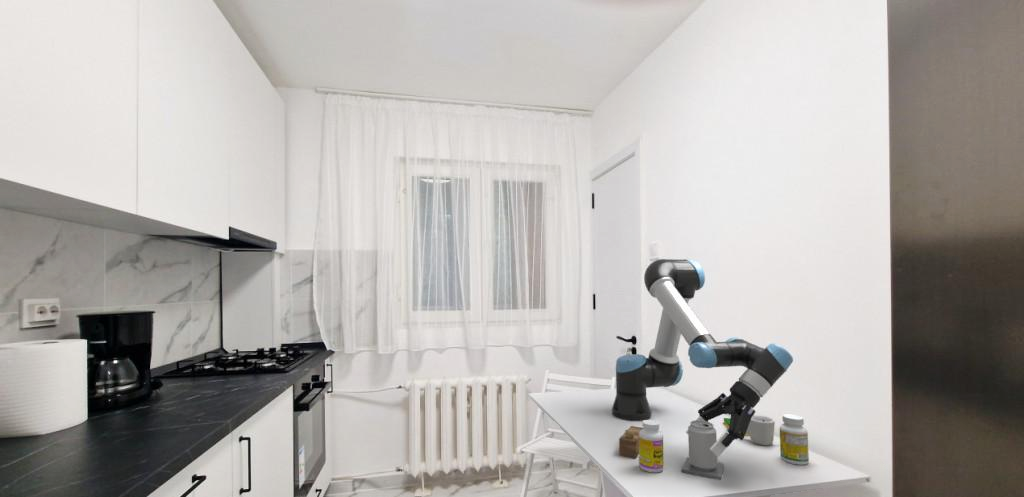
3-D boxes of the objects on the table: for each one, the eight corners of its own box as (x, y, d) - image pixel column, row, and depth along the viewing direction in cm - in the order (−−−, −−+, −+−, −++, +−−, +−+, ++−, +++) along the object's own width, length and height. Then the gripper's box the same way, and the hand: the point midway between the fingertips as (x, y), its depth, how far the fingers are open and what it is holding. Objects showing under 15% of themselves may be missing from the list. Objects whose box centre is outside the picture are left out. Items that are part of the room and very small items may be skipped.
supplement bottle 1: (654, 475, 121) (653, 427, 122) (634, 467, 126) (633, 421, 127) (668, 469, 125) (667, 423, 126) (649, 461, 130) (648, 417, 131)
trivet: (687, 459, 132) (687, 457, 132) (724, 466, 127) (723, 463, 127) (681, 472, 123) (681, 469, 123) (721, 480, 118) (721, 477, 118)
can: (720, 473, 121) (719, 428, 122) (691, 470, 122) (690, 426, 123) (714, 462, 128) (712, 420, 129) (686, 460, 130) (685, 418, 131)
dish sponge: (733, 436, 154) (733, 429, 154) (723, 424, 167) (723, 417, 167) (755, 438, 152) (755, 431, 152) (744, 425, 166) (743, 419, 166)
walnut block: (631, 441, 147) (631, 419, 148) (646, 444, 145) (646, 422, 145) (619, 455, 135) (619, 431, 135) (635, 458, 132) (635, 434, 133)
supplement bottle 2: (807, 467, 127) (805, 421, 128) (778, 461, 131) (776, 416, 132) (810, 460, 132) (808, 416, 133) (783, 454, 137) (781, 411, 138)
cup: (735, 441, 148) (735, 416, 149) (743, 435, 154) (742, 411, 154) (772, 449, 141) (771, 423, 141) (778, 442, 146) (777, 418, 147)
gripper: (788, 410, 115) (736, 472, 113) (733, 388, 140) (689, 437, 138) (768, 390, 115) (715, 451, 113) (716, 371, 140) (672, 420, 138)
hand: (700, 444), depth 125 cm, fingers open, 13 cm apart
